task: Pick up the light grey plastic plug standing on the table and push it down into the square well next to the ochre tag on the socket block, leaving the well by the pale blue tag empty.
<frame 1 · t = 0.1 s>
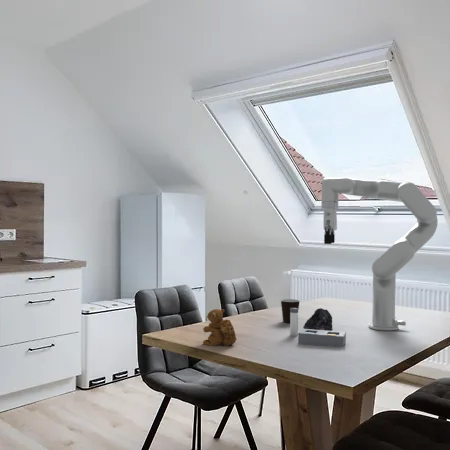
hand: (329, 243, 248), 37 cm above the table, fingers open, 9 cm apart
socket block: (322, 342, 212), on the table
plug: (294, 335, 225), on the table
stuffed squirrel: (221, 344, 209), on the table
black rock: (318, 331, 235), on the table
coffee mug: (291, 321, 254), on the table
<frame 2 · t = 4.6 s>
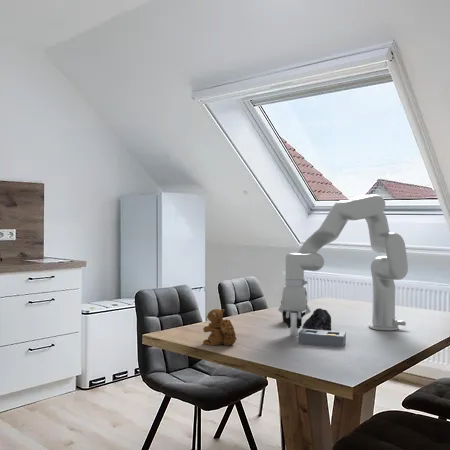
hand: (294, 327, 225), 3 cm above the table, fingers closed on plug, 3 cm apart
plug: (294, 335, 225), on the table, touching gripper
everything else where it was.
when the fingers open (6 cm above the table, at t = 10.0 s): plug drops 2 cm, resting on socket block.
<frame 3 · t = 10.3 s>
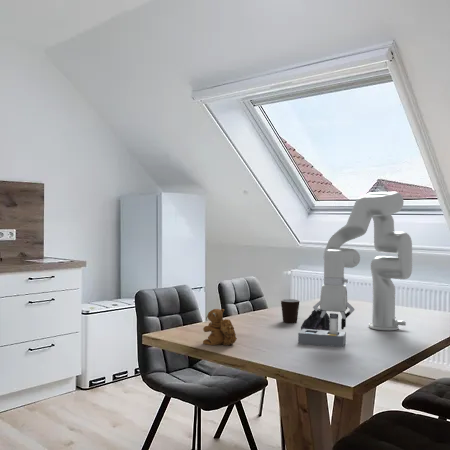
hand: (333, 327, 210), 6 cm above the table, fingers open, 6 cm apart
plug: (333, 342, 211), point 1 cm above the table, touching socket block
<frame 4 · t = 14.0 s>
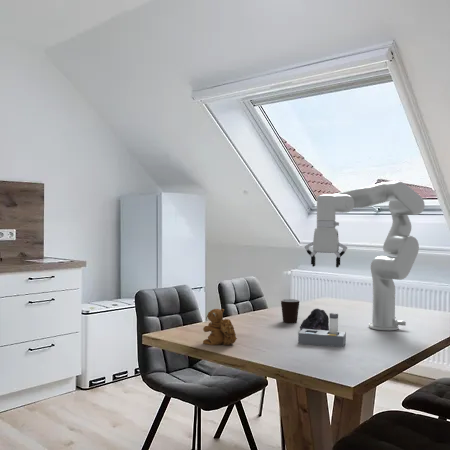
hand: (325, 266, 225), 28 cm above the table, fingers open, 9 cm apart
at the end: plug 0.2 cm from the target spot on the socket block, point 0.5 cm above the socket block's base; plug tilted 1°; the gripper is holding nothing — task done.
